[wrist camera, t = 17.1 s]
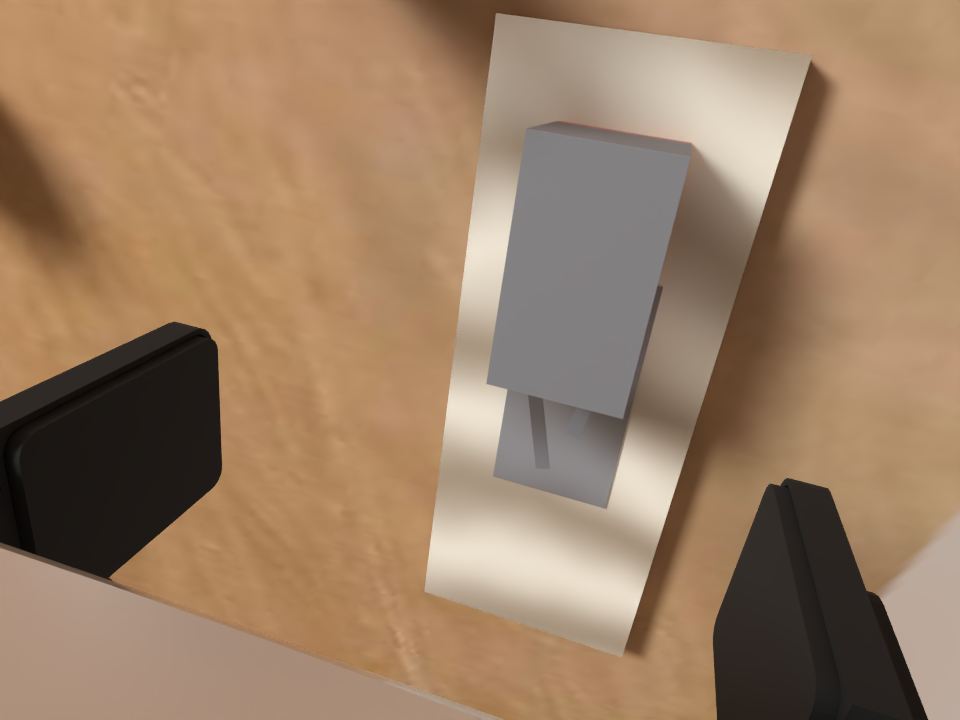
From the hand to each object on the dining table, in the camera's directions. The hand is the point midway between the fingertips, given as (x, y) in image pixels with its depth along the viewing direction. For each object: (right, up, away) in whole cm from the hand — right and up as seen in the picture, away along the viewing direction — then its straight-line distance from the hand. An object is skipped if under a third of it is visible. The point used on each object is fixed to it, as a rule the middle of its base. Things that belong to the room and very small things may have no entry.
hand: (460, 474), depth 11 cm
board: (+4, +1, +17) cm, 17 cm away
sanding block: (+5, +6, +13) cm, 15 cm away
